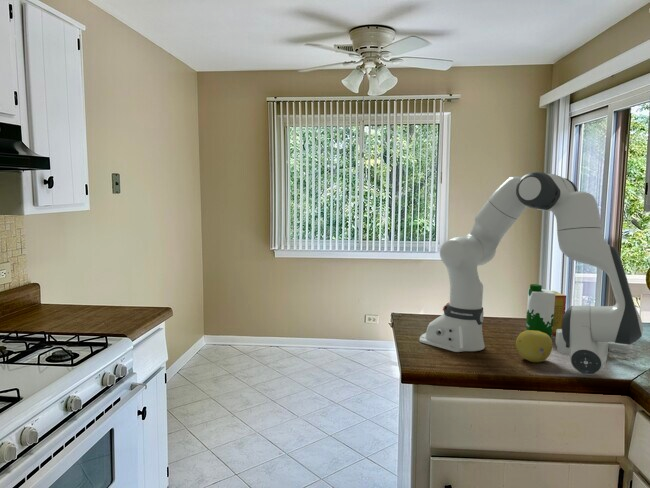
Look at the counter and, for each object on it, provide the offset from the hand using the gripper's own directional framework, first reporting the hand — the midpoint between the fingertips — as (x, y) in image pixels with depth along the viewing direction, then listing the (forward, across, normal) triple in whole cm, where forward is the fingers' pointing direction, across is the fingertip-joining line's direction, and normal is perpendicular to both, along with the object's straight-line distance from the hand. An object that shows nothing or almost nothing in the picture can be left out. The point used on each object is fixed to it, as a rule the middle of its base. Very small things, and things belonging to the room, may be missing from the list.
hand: (594, 336), depth 143 cm
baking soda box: (+32, +17, +9) cm, 38 cm away
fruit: (-8, +16, +9) cm, 20 cm away
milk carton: (+21, +19, +9) cm, 30 cm away
